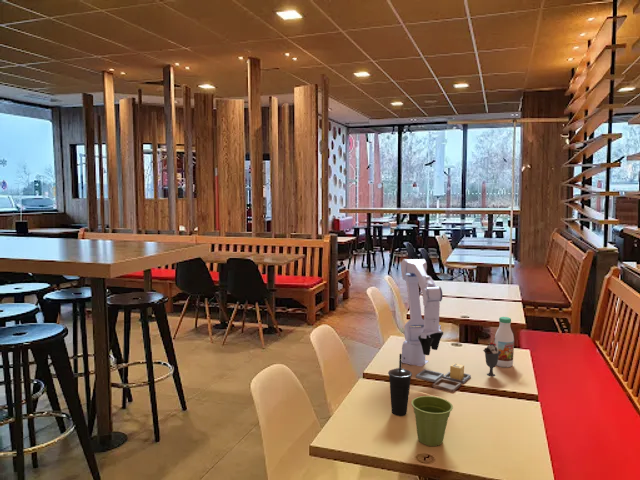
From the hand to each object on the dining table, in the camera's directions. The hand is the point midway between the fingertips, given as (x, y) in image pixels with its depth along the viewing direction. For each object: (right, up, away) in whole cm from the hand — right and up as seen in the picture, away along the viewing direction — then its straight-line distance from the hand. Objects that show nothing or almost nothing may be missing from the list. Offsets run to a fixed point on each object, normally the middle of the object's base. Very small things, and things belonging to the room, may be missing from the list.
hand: (430, 352), depth 198 cm
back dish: (+10, -11, 0) cm, 15 cm away
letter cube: (+10, -10, 0) cm, 14 cm away
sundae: (+25, -10, +4) cm, 27 cm away
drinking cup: (-17, -14, -29) cm, 36 cm away
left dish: (0, -10, +1) cm, 10 cm away
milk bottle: (+34, -9, +17) cm, 39 cm away
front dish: (+4, -11, -8) cm, 15 cm away
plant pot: (-10, -16, -47) cm, 51 cm away
